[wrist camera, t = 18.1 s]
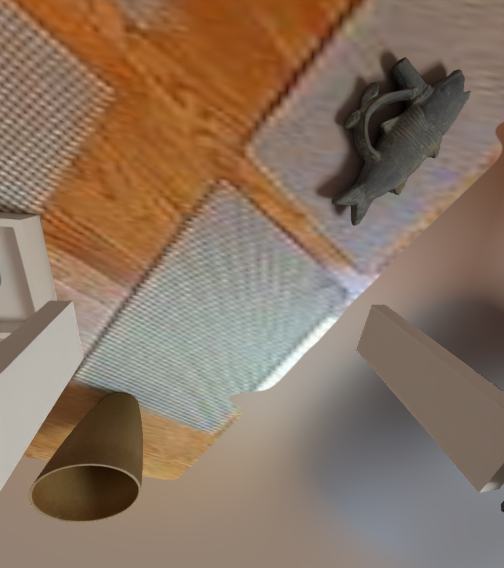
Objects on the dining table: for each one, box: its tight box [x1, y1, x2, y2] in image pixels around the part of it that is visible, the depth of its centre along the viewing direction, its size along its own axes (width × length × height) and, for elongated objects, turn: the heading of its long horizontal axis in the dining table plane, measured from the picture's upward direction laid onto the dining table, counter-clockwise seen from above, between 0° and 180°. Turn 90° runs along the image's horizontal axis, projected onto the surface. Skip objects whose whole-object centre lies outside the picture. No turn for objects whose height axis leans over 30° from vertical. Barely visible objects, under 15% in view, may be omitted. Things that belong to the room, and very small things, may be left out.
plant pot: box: [29, 393, 143, 522], centre depth 44 cm, size 15×15×16 cm
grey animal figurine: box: [332, 57, 471, 225], centre depth 38 cm, size 5×25×15 cm
